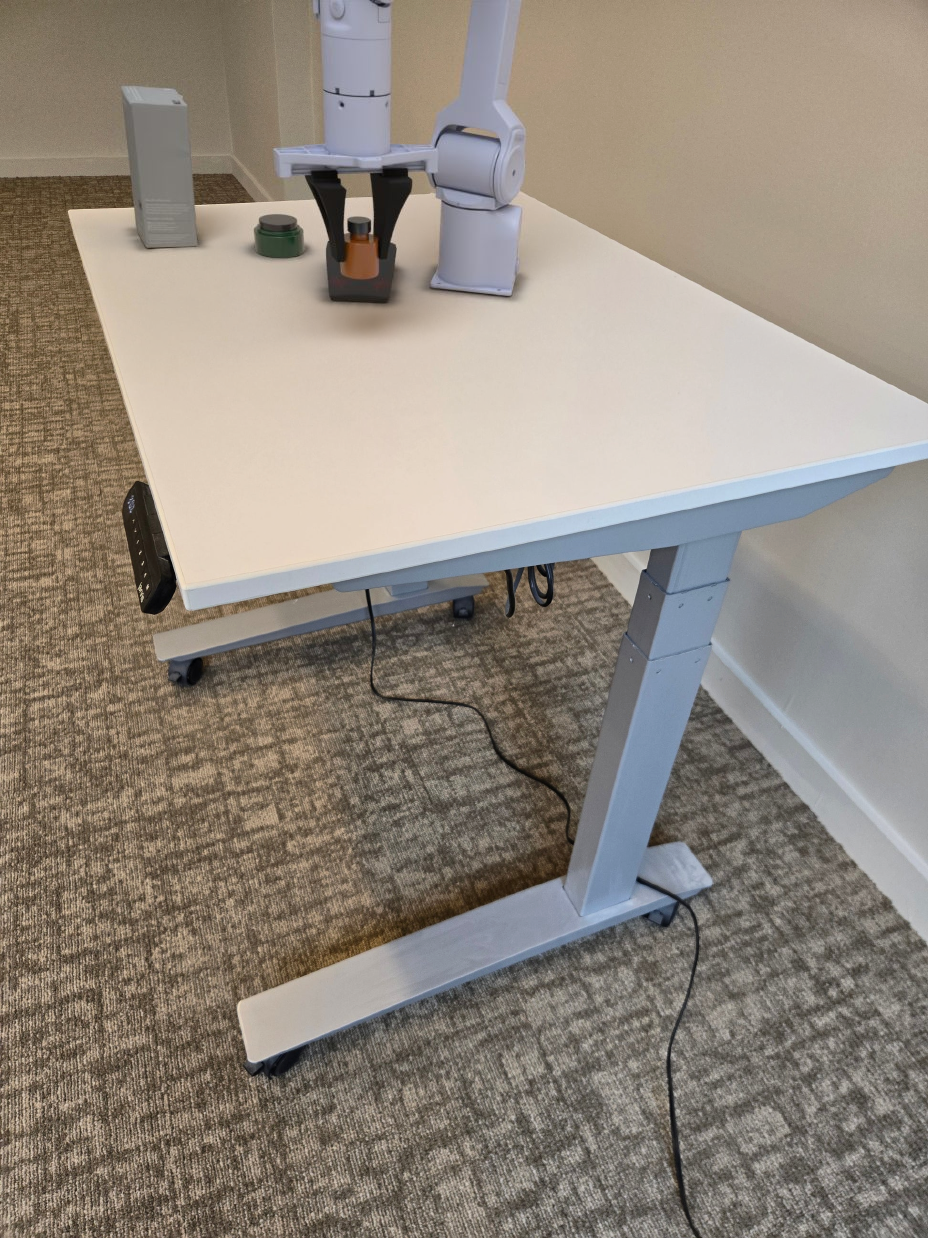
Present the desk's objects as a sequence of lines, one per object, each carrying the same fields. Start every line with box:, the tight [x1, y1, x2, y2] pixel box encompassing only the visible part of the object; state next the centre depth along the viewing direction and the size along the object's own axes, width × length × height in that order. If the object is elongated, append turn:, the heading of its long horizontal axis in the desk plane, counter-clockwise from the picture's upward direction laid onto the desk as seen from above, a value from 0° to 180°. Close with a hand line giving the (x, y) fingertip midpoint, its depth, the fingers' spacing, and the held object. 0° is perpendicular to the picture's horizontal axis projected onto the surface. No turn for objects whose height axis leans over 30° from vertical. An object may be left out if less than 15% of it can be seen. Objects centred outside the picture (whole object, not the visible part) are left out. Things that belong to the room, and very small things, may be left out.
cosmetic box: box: [120, 85, 199, 249], centre depth 103 cm, size 8×7×16 cm
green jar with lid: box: [253, 213, 306, 259], centre depth 106 cm, size 6×6×4 cm
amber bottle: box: [341, 215, 379, 279], centre depth 81 cm, size 4×4×5 cm
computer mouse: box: [325, 240, 398, 303], centre depth 99 cm, size 8×14×4 cm, turn 3°
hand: (359, 257), depth 82 cm, fingers closed on amber bottle, 3 cm apart
